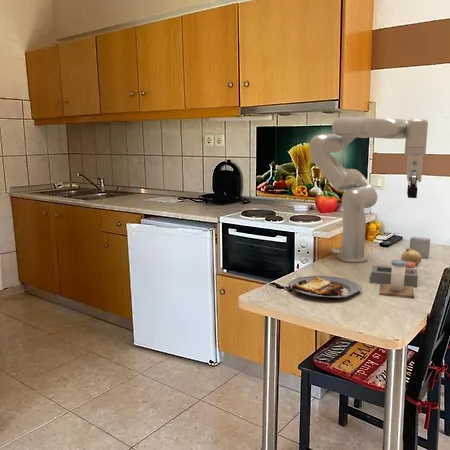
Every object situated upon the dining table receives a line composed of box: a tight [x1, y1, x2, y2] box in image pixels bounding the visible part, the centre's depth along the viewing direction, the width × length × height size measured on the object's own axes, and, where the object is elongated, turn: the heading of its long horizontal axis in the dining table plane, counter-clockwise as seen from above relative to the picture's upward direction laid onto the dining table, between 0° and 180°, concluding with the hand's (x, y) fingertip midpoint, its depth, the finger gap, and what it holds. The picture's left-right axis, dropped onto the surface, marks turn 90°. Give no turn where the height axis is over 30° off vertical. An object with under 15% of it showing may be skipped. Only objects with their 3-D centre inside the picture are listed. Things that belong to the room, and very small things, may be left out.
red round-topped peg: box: [405, 261, 416, 273], centre depth 174 cm, size 4×4×7 cm
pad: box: [379, 283, 415, 299], centre depth 164 cm, size 11×11×1 cm
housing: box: [370, 264, 419, 288], centre depth 176 cm, size 16×10×4 cm, turn 71°
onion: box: [400, 247, 423, 267], centre depth 198 cm, size 8×8×7 cm
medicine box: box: [409, 236, 431, 259], centre depth 212 cm, size 8×4×9 cm, turn 58°
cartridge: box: [390, 259, 406, 291], centre depth 163 cm, size 5×5×10 cm
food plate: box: [287, 275, 363, 300], centre depth 165 cm, size 25×23×4 cm
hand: (411, 196), depth 184 cm, fingers open, 9 cm apart
